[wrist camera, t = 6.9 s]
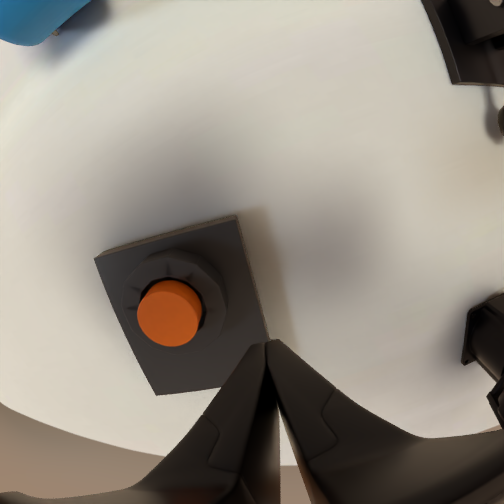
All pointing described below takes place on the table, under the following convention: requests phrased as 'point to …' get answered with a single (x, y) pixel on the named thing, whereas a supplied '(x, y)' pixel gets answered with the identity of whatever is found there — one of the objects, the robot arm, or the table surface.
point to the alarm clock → (34, 19)
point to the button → (170, 313)
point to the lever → (501, 120)
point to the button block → (209, 292)
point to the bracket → (470, 39)
